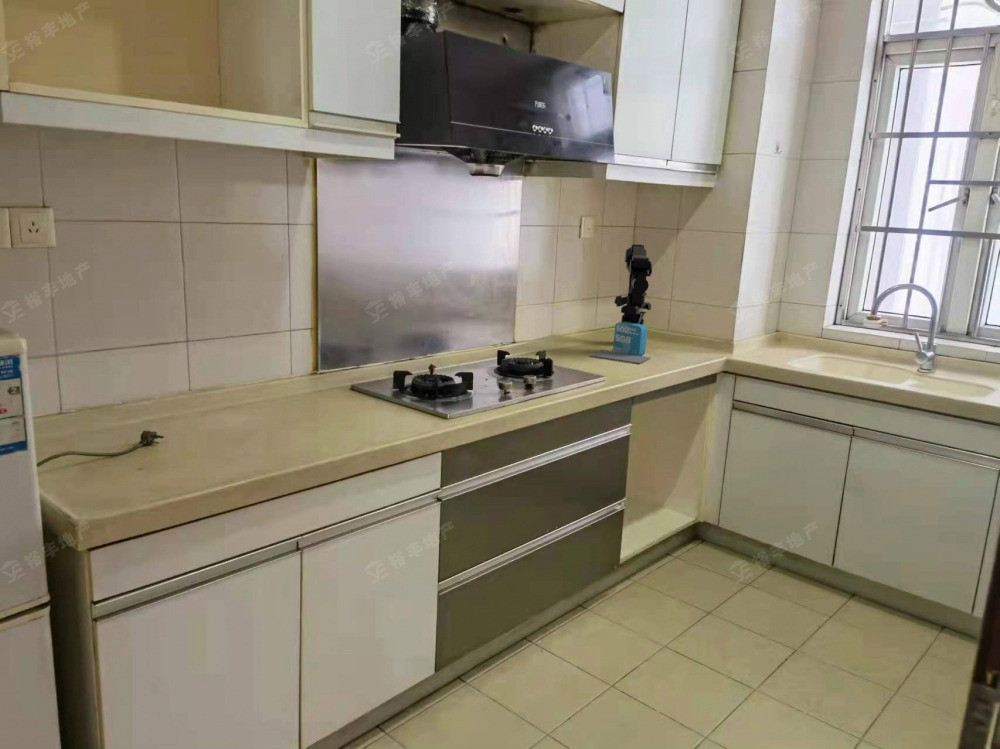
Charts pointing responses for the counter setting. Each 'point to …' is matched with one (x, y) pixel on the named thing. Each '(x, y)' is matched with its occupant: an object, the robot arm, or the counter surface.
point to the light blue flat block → (630, 338)
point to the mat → (620, 357)
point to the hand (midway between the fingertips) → (634, 329)
